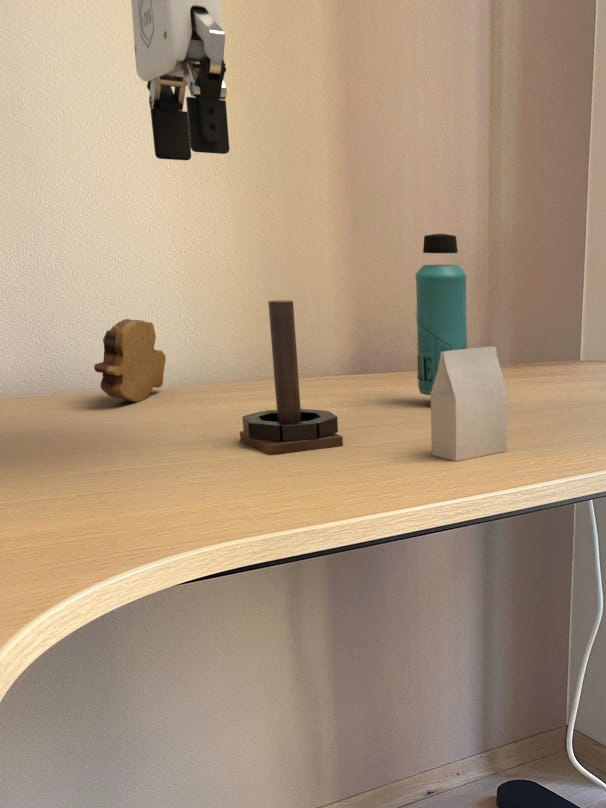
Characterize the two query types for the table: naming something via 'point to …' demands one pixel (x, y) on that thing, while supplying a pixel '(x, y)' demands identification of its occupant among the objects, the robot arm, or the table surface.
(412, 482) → the table surface
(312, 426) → the ring
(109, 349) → the wooden carving
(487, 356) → the grey gabled box
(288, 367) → the post
